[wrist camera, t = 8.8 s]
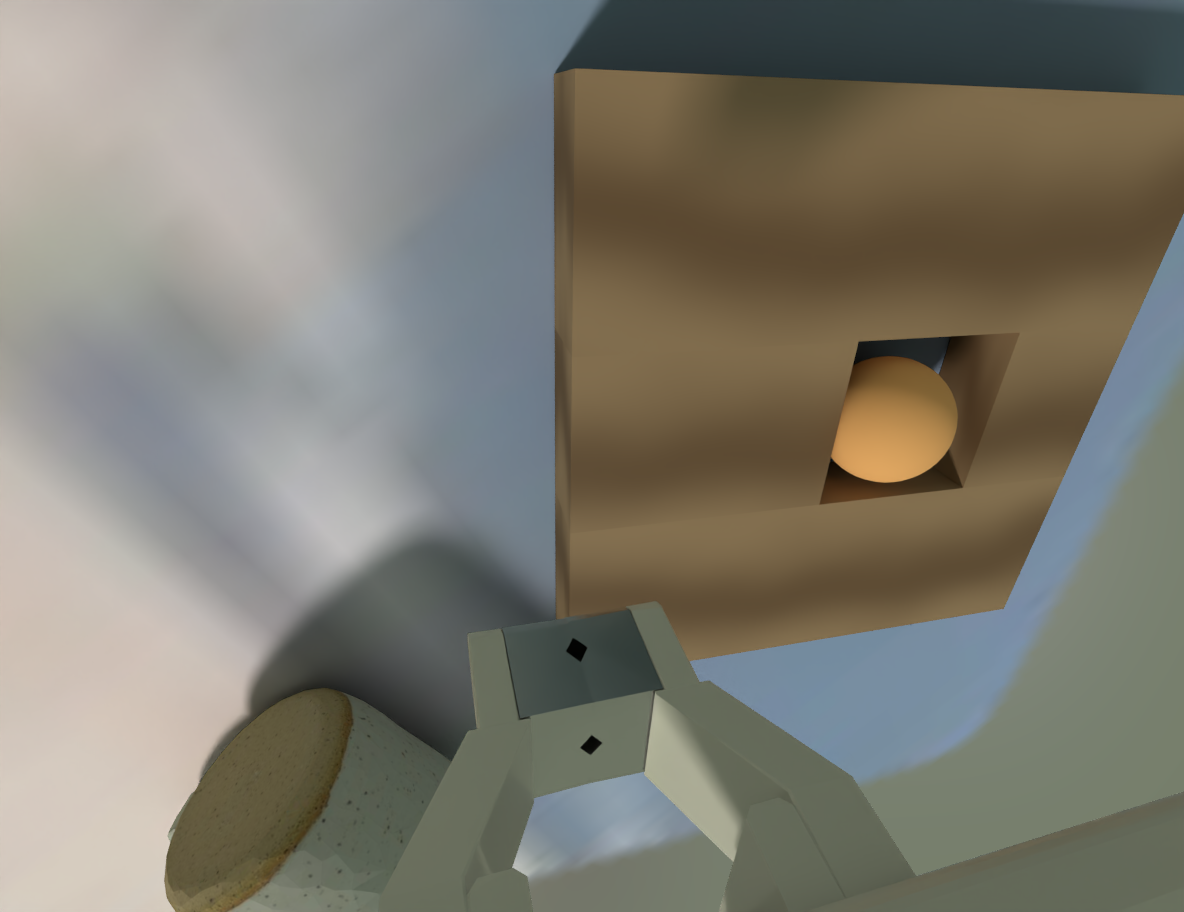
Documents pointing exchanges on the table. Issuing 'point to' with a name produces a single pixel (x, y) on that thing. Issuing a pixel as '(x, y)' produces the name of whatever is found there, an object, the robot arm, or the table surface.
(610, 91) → the board
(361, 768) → the ceramic mug
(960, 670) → the table surface
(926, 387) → the rubber ball
